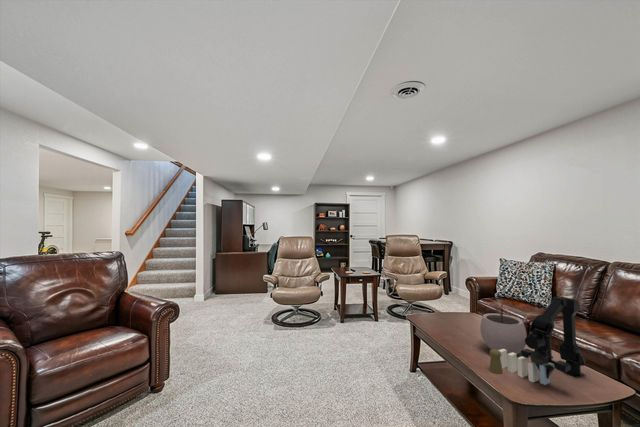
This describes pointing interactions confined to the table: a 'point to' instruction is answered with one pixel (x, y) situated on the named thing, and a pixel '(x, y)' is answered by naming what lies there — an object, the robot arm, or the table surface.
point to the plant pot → (503, 332)
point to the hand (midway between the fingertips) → (545, 377)
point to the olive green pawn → (495, 361)
